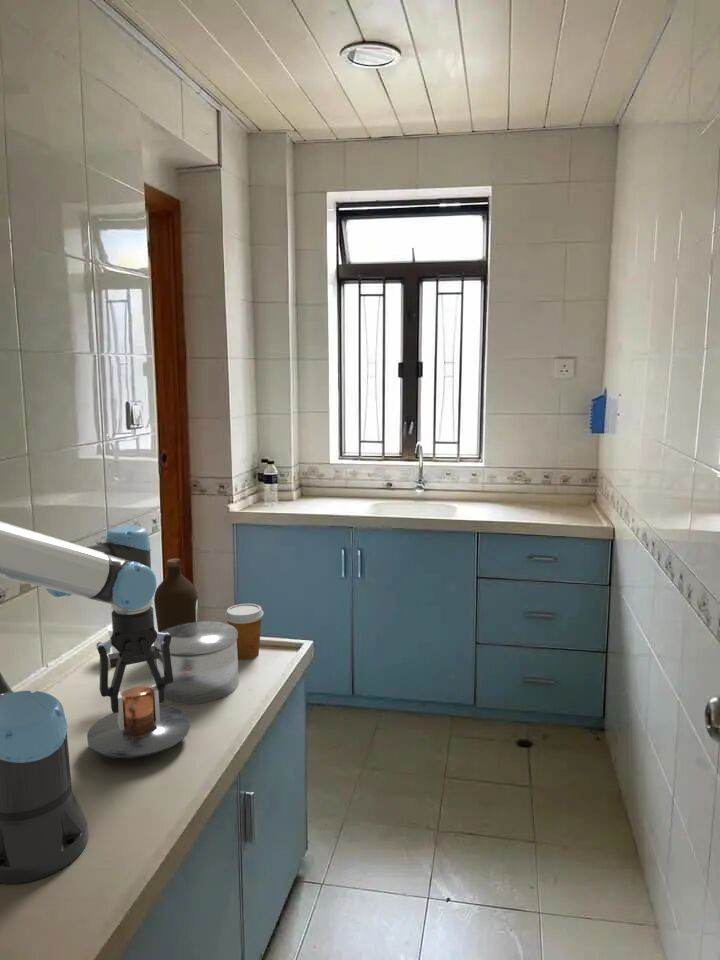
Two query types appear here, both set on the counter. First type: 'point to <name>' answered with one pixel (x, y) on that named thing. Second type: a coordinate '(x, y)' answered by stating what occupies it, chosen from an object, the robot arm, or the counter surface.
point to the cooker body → (197, 662)
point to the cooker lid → (138, 727)
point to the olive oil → (175, 599)
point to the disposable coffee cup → (246, 628)
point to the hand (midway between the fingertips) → (139, 722)
